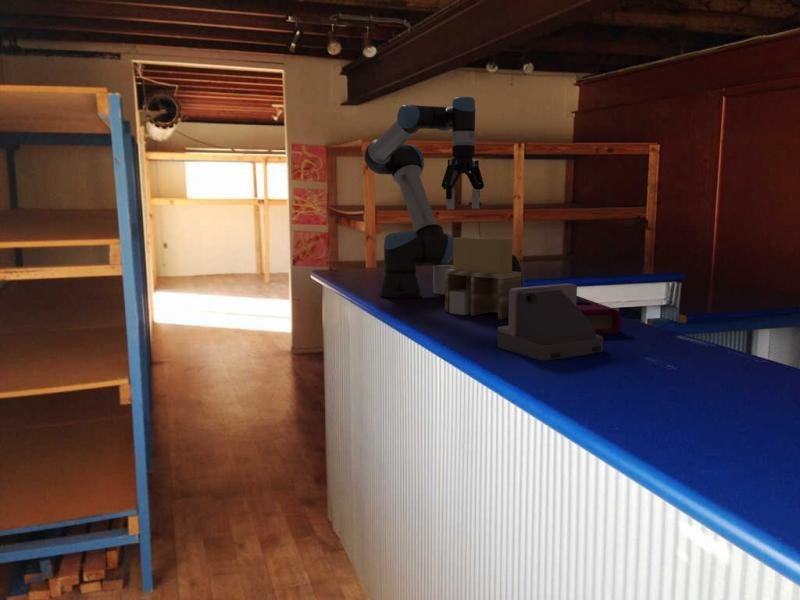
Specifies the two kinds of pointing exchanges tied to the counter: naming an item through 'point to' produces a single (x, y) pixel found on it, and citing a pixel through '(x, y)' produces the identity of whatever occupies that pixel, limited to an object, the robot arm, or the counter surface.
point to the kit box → (482, 254)
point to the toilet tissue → (440, 278)
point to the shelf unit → (483, 290)
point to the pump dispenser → (517, 267)
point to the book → (600, 316)
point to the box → (460, 301)
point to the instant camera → (548, 324)
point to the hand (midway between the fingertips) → (463, 208)
